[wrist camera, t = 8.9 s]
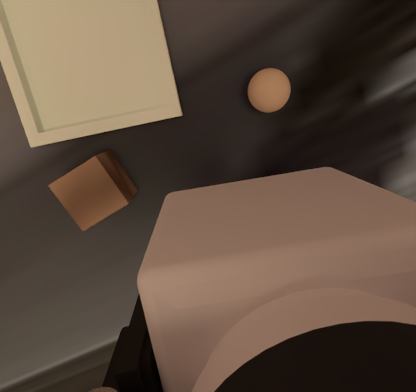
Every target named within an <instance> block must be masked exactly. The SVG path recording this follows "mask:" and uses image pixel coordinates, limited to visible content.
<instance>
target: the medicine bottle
mask: <svg viewBox="0 0 416 392" xmlns="http://www.w3.org/2000/svg"><path fill="white" fill-rule="evenodd" d="M137 285H138V290H139V294H140V298H141V302H142V306H143V310H144V315H145V319H146V323H147V327H148V331H149V335H150V339H151V343H152V347H153V351H154V355H155V359H156V363H157V367H158V371H159V375H160V380H161V384H162V388H163V392H416V202H414V201H412V200H409V199H407V198H404V197H402V196H400V195H397V194H395V193H392V192H390V191H387V190H385V189H382V188H380V187H378V186H375V185H373V184H370V183H368V182H365V181H363V180H360V179H358V178H355V177H353V176H351V175H348V174H346V173H343V172H341V171H338V170H336V169H333V168H331V167H322V168H316V169H310V170H304V171H298V172H292V173H286V174H280V175H274V176H268V177H262V178H255V179H249V180H243V181H237V182H231V183H225V184H219V185H213V186H207V187H201V188H195V189H189V190H183V191H177V192H172V193H169V194H168V195H167V196H166V197H165V200H164V202H163V205H162V208H161V211H160V214H159V217H158V219H157V222H156V225H155V228H154V231H153V233H152V236H151V239H150V242H149V245H148V248H147V250H146V253H145V256H144V259H143V262H142V264H141V267H140V270H139V273H138V277H137Z"/></svg>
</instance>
